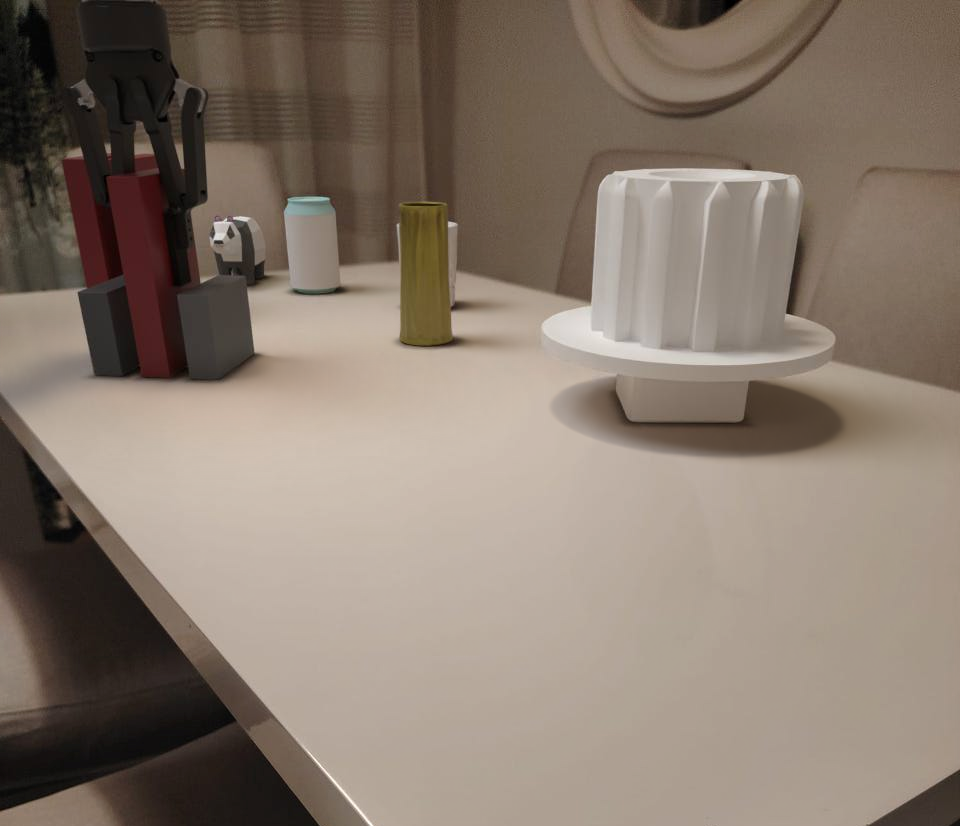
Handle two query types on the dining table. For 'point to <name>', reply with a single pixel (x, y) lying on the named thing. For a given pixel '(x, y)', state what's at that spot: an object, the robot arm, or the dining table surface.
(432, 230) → the vase
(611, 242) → the flanged gear
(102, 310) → the grey bookends
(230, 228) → the giant panda
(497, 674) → the dining table surface
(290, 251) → the can
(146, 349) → the burgundy book
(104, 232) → the burgundy books
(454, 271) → the white cup
